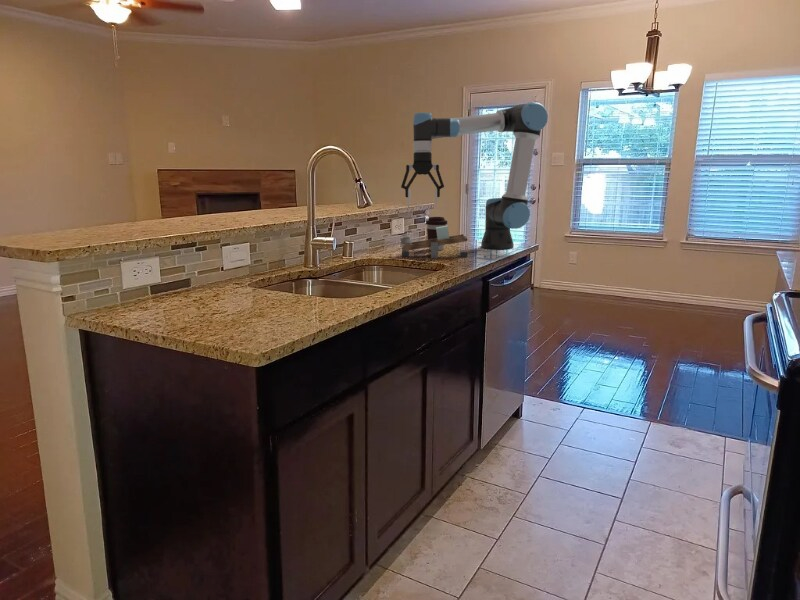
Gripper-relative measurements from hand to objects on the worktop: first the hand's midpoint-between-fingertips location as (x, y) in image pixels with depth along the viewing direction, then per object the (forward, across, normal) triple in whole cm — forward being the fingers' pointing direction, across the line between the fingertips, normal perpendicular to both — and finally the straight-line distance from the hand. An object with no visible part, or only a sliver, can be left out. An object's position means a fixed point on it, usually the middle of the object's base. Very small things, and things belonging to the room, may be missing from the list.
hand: (422, 205), depth 238 cm
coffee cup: (+22, -6, -20) cm, 30 cm away
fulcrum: (+22, -5, 0) cm, 23 cm away
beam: (+16, -5, 0) cm, 17 cm away
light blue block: (+15, -9, 0) cm, 18 cm away
